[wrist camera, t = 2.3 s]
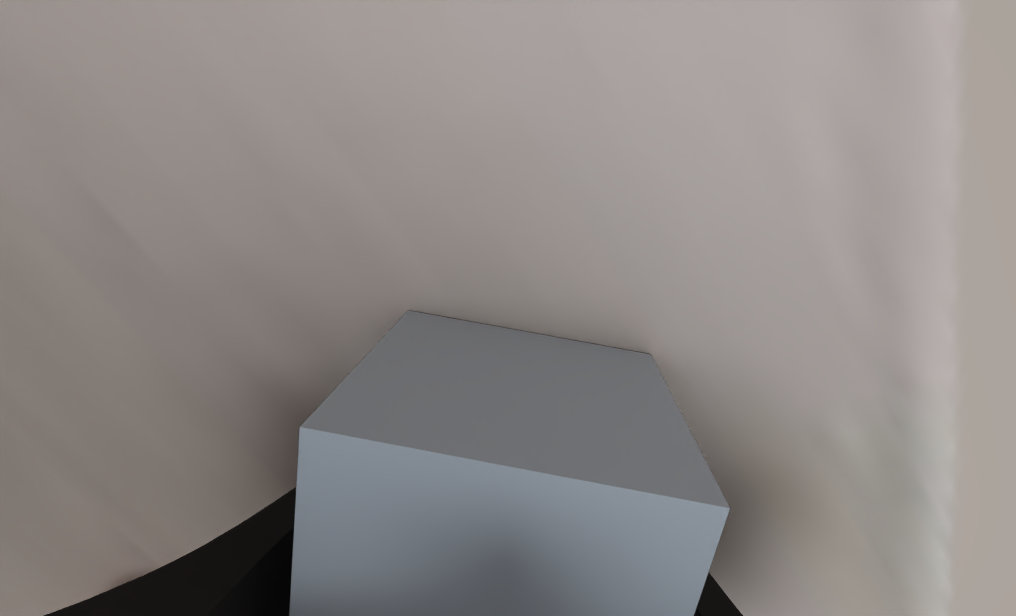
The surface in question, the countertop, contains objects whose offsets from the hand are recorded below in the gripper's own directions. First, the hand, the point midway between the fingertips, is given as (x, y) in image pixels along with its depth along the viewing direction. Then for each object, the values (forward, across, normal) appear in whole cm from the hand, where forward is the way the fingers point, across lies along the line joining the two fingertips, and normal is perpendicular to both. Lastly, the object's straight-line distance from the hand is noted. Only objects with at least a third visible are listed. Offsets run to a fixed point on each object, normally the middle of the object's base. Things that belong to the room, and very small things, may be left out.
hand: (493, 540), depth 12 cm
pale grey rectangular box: (+2, 0, 0) cm, 2 cm away
